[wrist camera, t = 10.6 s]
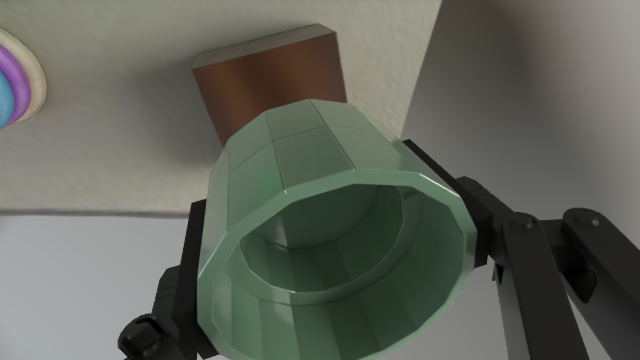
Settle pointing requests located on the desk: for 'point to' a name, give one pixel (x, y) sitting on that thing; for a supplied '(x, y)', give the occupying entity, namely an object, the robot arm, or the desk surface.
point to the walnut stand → (268, 76)
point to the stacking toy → (19, 81)
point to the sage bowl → (326, 239)
